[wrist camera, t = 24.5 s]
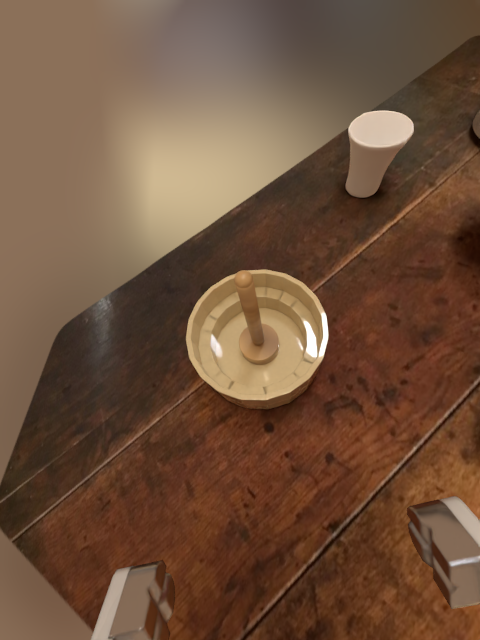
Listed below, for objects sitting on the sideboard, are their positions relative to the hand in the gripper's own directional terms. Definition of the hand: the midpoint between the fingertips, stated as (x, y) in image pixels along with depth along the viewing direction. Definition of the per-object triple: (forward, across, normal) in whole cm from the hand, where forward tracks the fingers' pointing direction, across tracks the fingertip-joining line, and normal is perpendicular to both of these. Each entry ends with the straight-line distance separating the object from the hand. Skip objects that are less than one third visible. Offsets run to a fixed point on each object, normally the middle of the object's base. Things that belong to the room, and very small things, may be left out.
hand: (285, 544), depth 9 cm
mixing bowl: (+28, -1, +6) cm, 28 cm away
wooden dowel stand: (+27, -1, +5) cm, 28 cm away
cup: (+45, -26, -12) cm, 53 cm away
